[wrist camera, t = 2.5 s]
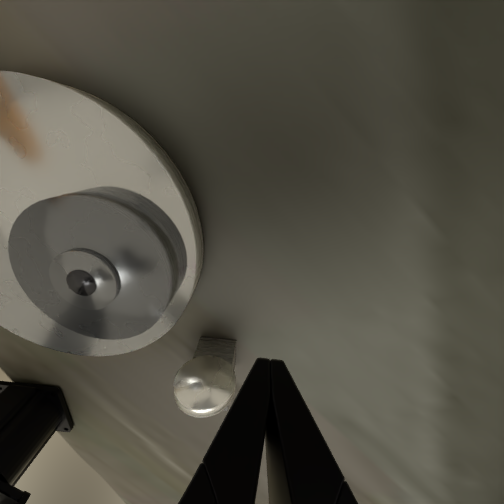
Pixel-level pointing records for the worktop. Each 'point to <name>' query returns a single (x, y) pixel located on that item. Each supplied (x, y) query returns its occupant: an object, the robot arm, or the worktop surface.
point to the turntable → (76, 179)
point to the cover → (98, 260)
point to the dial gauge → (207, 378)
